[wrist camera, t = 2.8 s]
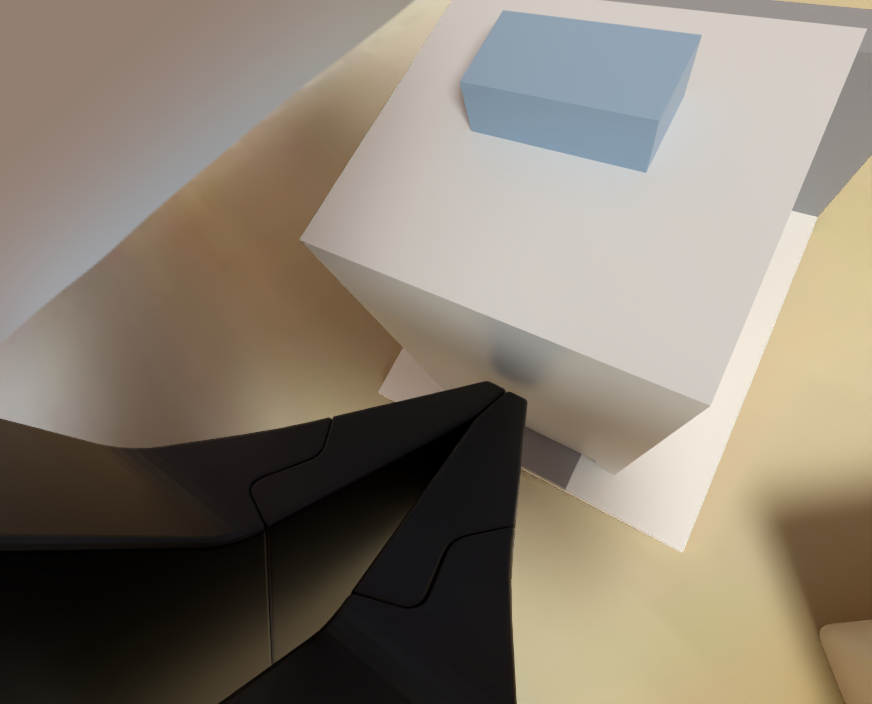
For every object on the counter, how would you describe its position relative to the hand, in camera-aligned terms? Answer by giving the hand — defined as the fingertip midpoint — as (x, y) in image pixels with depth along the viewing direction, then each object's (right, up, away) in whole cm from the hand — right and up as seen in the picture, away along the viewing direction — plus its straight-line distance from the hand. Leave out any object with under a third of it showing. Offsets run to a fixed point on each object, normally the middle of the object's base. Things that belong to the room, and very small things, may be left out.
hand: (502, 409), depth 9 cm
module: (+3, +1, +7) cm, 7 cm away
